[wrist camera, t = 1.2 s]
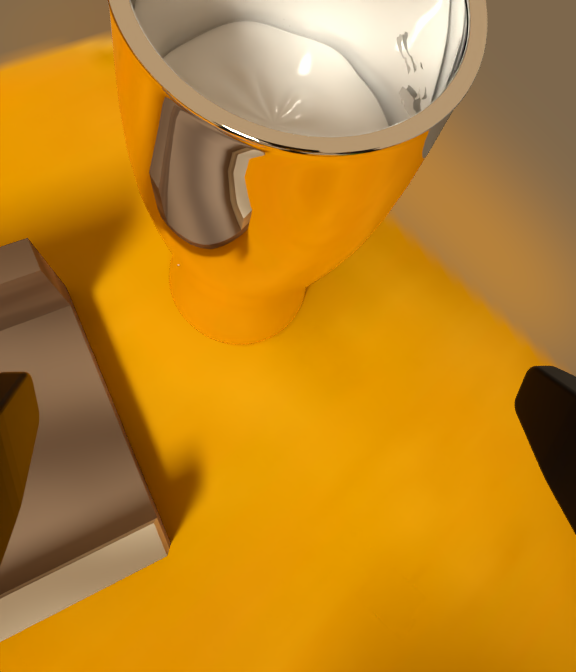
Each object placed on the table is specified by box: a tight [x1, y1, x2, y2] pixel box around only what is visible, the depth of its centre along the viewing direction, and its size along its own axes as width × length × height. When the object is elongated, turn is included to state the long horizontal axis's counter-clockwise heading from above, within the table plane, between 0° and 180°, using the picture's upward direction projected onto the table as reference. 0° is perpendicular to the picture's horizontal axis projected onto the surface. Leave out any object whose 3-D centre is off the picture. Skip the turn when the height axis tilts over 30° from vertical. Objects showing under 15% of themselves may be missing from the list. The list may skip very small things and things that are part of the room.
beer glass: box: [107, 0, 487, 344], centre depth 16 cm, size 7×7×15 cm
